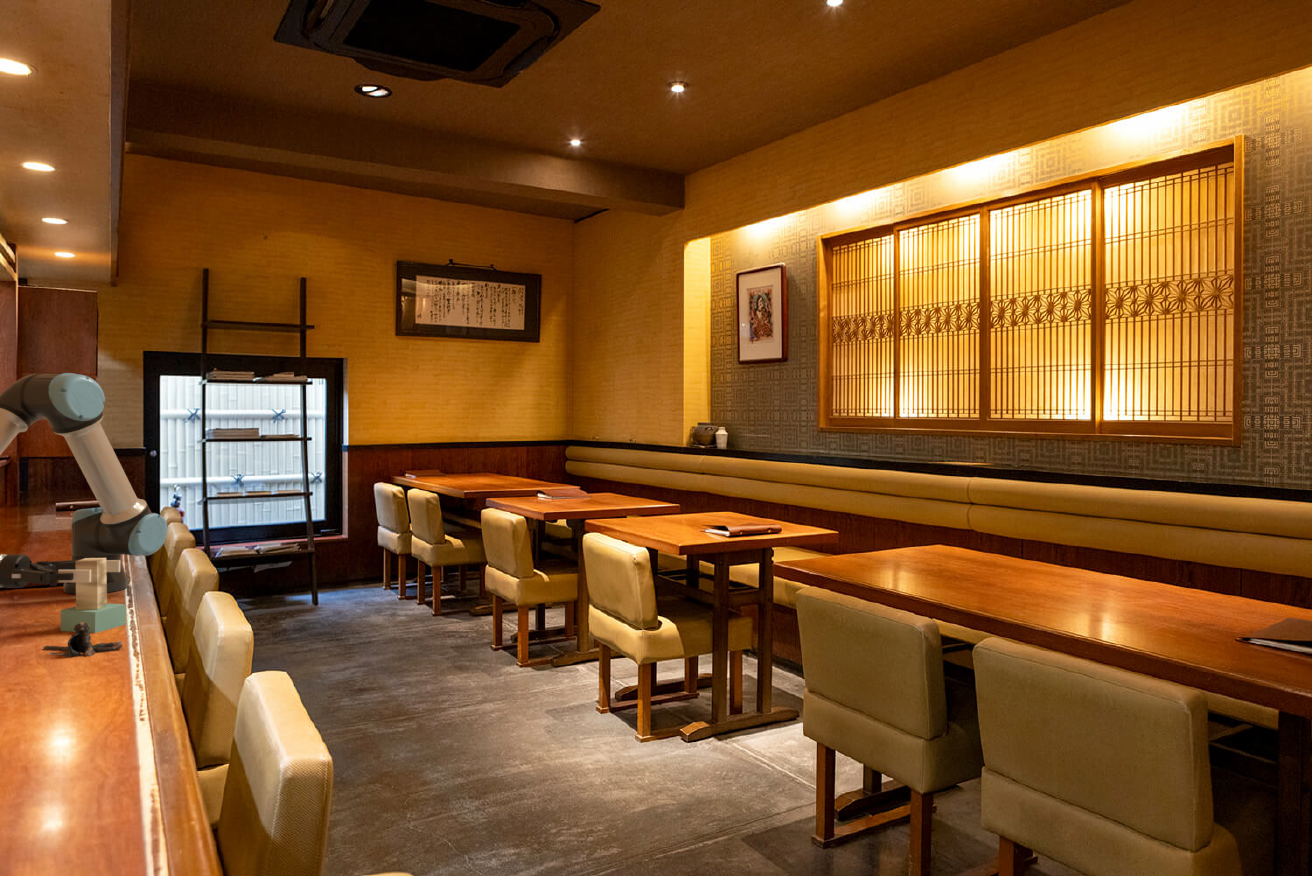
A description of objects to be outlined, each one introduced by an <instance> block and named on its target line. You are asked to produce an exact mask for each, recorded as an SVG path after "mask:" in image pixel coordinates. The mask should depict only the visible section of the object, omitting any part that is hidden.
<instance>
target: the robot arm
mask: <svg viewBox="0 0 1312 876" xmlns="http://www.w3.org/2000/svg"><path fill="white" fill-rule="evenodd" d="M104 403H106V396H105V393H104V390H103V389H102V387H101V386H100V384H99V383H98V382H97V381H96V380H94V379H93V378H91V377H90V376H87V375H84V374H80V373H79V374H77V373H72V372H65V373H31V374H28V375H25V376H23V377H21V378H19V379H18V380H16V381H14V382H13V383H12V384H10V385H9V386H8V387H7V388H5V389H4V390H3V391H2V392H1V393H0V456H2V454H3V453H4V452H5V450H6V449H7V448H8V446H10V444H11V442H12V441H13V440H14V439H15V438H16V436H17V435H19V433H25V432H27V431H28V429H29V428H30V427H31V426H32V425H33V424H34V423H36V422H37V421H39V420H47V423H48V424H49V427H50V428H51V430H52V431H53V433H54V434H56V435H59V436H62V437H63V438H64V439H65V441H66V443H67V445H68V447H69V449H70V451H71V453H72V454H73V457H74V459H75V460H76V462H77V464H78V467H79V469H80V470H81V472H82V474H83V476H84V478H85V479H86V482H87V484H88V485H89V488H90V489H91V491H92V493H93V495H94V496H95V498H96V501H97V502H98V505H99V507H91V508H81V509H77V510H75V511H74V512H73V514H72V519H71V524H70V525H71V560H67V559H66V560H53V561H52V560H44V561H43V560H39V561H36V562H33V561H32V559H31V558H30V557H29V555H26V554H22V553H21V554H20V553H19V554H15V553H14V554H12V553H11V554H10V553H9V554H5V553H1V554H0V588H5V589H8V588H9V589H11V588H13V589H16V588H19V589H20V588H23V587H25V586H27V584H29V583H31V584H40V585H50V587H56V586H57V585H58V584H57V583H63V593H66V594H71V595H72V594H74V595H76V582H91V570H76V563H75V561H78V560H81V559H84V558H106V576H107V593H111V592H118V591H121V590H125V589H127V588H128V583H129V582H128V577H127V575H126V572H125V569H124V565H123V564H122V559H121V558H122V557H121V556H122V555H125V556H134V557H140V556H150V555H153V554H155V553H156V552H158V551H159V550H160V549H161V548H162V546H164V543H165V541H166V537H167V536H168V529H169V527H168V524H167V523H168V522H167V521H166V519H165V518H164V516H162V515H160V514H158V513H155V512H152V511H151V509H150V507H149V505H148V503H147V501H146V500H144V499H142V498H141V499H140V498H138V497H137V495H136V493H135V490H134V489H133V487H132V484H131V483H130V481H129V478H128V476H127V475H126V473H125V470H124V469H123V466H122V464H121V463H120V460H119V459H118V456H117V455H116V453H115V451H114V450H115V449H113V447H112V444H111V443H110V441H109V438H108V437H107V435H106V432H105V430H104V429H103V426H102V424H101V423H102V420H103V419H104V413H103V410H104V408H105V405H104Z"/></svg>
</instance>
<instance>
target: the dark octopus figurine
mask: <svg viewBox="0 0 1312 876" xmlns="http://www.w3.org/2000/svg"><path fill="white" fill-rule="evenodd" d="M89 629H90V626H89V625H88V624H87V623H83V622H81V623H78V624H77V625H75V627H74V631H75V632H74V633H75V634H72V635H71V637H70V638H69V639H68V642H67V646H60V645H59V646H58V645H53V644H52V645H46V646H43V649H44V650H45V651H57V650H59V652H49V653H48V655H54V656H57V657H58V656H59V657H62V656H64V658H77V657H82V656H84V657H87V656H88V657H91V656H93V655H95V654H96V653H97V654H98V653H106V652H108V653H109V652H116V651H119V650H121V648H122V647H123V644H122V642H121V640H117V641H115V642H114V641H112V642H101V643H97V644H95V645H94V644H93V643H92V642H91V640H92V638H91V635H90V634H91V633H88V631H89ZM62 652H65V653H62ZM83 653H84V654H83Z"/></svg>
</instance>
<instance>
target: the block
mask: <svg viewBox="0 0 1312 876" xmlns="http://www.w3.org/2000/svg"><path fill="white" fill-rule="evenodd" d="M75 563H76V570H91V582H76V594H75V606H76V610H82V609H99V608H101V607H103V606H105V605H107V603H108V601H107V600H108V592H107V576H106V558H84V559H81V560H78V561H75Z"/></svg>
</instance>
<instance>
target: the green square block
mask: <svg viewBox="0 0 1312 876" xmlns="http://www.w3.org/2000/svg"><path fill="white" fill-rule="evenodd" d="M81 622H83V623H87V624H88V625H89V626H90V629H89V631H88V633H89V634H97V633H100V632H105V631H108V630H112V629H115V628H118V627H119V628H120V627H122V626H125V625H127V604H123V603H111V602H109V603H108V602H107V605H105V606H103V607H101V608H99V609H82V610H76V605H75V606H72V607H68V608H64V609H61V610H60V627H59V628H60V630H59V631H60V632H73V633H75V631H74V627H75V625H77V624H78V623H81Z"/></svg>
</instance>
